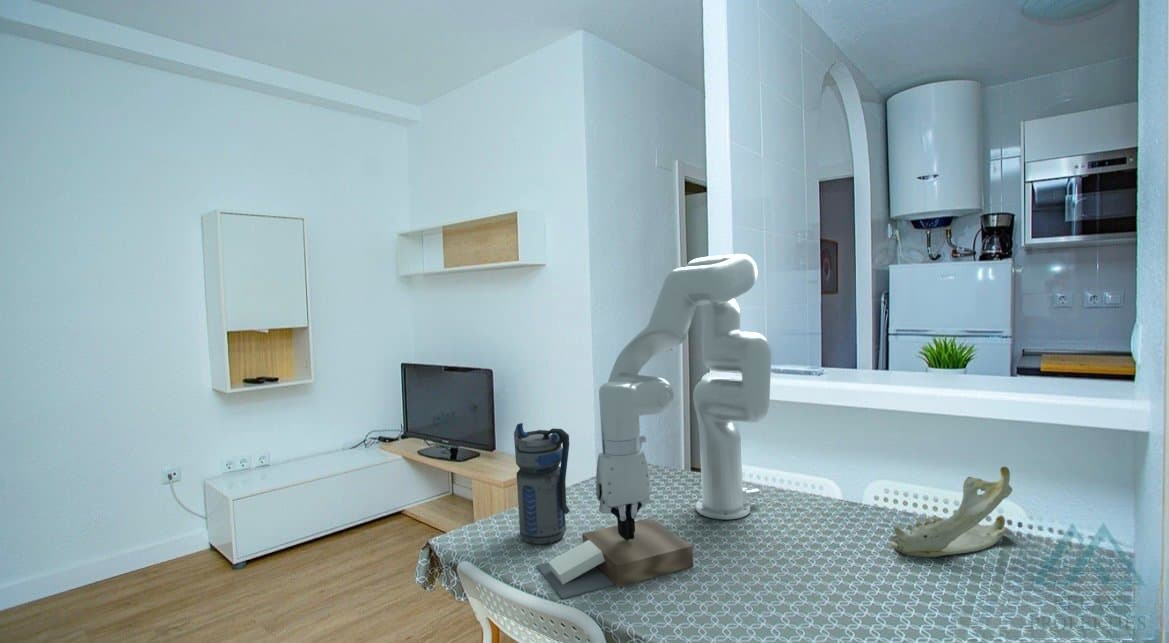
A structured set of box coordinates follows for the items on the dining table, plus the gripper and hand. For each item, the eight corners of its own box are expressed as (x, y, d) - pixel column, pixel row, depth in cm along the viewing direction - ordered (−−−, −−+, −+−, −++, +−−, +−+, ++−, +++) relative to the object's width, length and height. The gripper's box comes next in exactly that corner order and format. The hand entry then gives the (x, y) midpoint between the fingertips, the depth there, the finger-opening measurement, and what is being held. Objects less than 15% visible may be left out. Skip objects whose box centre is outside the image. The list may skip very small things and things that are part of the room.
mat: (583, 555, 117) (583, 553, 117) (613, 585, 104) (613, 583, 104) (536, 566, 113) (536, 565, 113) (562, 599, 100) (562, 597, 100)
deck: (650, 535, 125) (650, 517, 124) (693, 566, 110) (692, 545, 110) (583, 552, 118) (582, 533, 118) (618, 587, 104) (617, 565, 103)
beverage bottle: (562, 551, 119) (555, 432, 118) (508, 542, 125) (501, 428, 124) (583, 532, 128) (577, 421, 127) (533, 524, 134) (526, 418, 133)
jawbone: (904, 526, 103) (874, 487, 112) (901, 592, 111) (874, 550, 120) (1042, 494, 103) (1001, 458, 112) (1029, 562, 111) (992, 523, 120)
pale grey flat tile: (591, 548, 114) (589, 539, 114) (605, 560, 108) (601, 551, 108) (551, 570, 111) (548, 561, 110) (562, 584, 105) (559, 575, 105)
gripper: (645, 435, 119) (650, 522, 120) (578, 447, 113) (584, 538, 114) (664, 443, 112) (669, 535, 113) (594, 456, 106) (600, 554, 107)
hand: (626, 537), depth 113 cm, fingers closed
